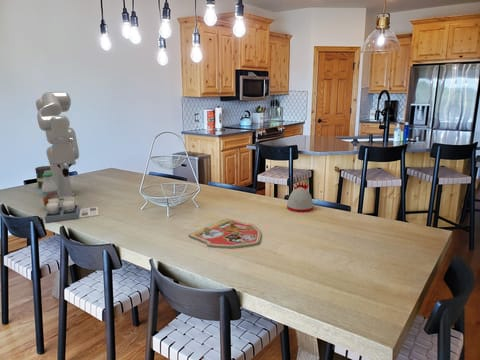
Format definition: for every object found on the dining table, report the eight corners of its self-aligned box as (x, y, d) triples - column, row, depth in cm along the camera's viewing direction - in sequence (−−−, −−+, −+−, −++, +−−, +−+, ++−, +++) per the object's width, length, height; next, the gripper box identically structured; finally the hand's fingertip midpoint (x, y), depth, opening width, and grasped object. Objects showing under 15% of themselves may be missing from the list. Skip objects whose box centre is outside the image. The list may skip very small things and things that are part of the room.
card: (80, 210, 194) (80, 208, 194) (97, 207, 197) (97, 206, 197) (79, 218, 181) (79, 216, 181) (98, 215, 185) (98, 214, 184)
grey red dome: (312, 213, 184) (314, 185, 180) (286, 211, 187) (286, 184, 183) (313, 204, 197) (314, 178, 193) (288, 203, 200) (288, 177, 196)
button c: (48, 212, 181) (47, 202, 179) (59, 210, 182) (58, 201, 181) (47, 215, 176) (46, 205, 175) (58, 213, 178) (57, 204, 177)
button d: (64, 210, 183) (63, 200, 182) (75, 208, 185) (74, 199, 184) (64, 213, 179) (62, 203, 178) (74, 211, 181) (73, 202, 179)
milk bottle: (41, 209, 196) (35, 174, 191) (54, 205, 202) (49, 171, 198) (50, 211, 192) (45, 175, 187) (63, 207, 199) (58, 172, 194)
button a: (50, 207, 187) (48, 198, 186) (60, 206, 189) (59, 197, 188) (49, 210, 183) (47, 201, 182) (59, 209, 185) (58, 200, 183)
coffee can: (37, 190, 234) (34, 169, 230) (38, 187, 243) (35, 166, 239) (55, 188, 238) (52, 168, 234) (55, 185, 247) (52, 165, 244)
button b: (65, 206, 190) (64, 197, 189) (75, 204, 192) (74, 195, 191) (65, 208, 186) (63, 199, 184) (75, 207, 187) (74, 198, 186)
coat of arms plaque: (228, 220, 177) (228, 211, 176) (278, 234, 159) (278, 225, 158) (184, 239, 155) (184, 229, 154) (236, 258, 137) (236, 247, 136)
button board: (48, 213, 189) (47, 208, 188) (79, 209, 194) (78, 204, 194) (45, 223, 175) (44, 217, 175) (78, 218, 181) (77, 213, 180)
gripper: (77, 139, 186) (82, 173, 190) (45, 141, 181) (51, 176, 185) (77, 141, 179) (81, 176, 184) (43, 143, 174) (49, 179, 178)
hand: (66, 176), depth 184 cm, fingers closed
